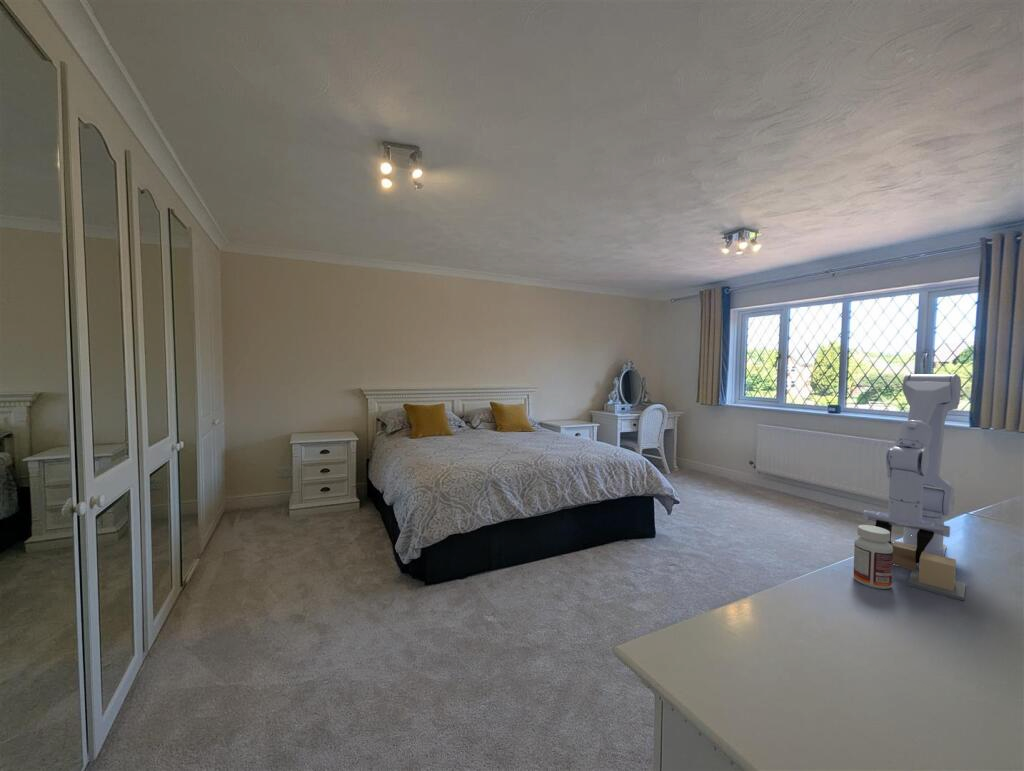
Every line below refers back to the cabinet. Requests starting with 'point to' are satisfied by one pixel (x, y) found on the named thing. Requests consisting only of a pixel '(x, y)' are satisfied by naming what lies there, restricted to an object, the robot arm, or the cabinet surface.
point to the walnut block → (904, 554)
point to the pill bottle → (873, 557)
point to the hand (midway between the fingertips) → (902, 558)
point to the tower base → (936, 589)
